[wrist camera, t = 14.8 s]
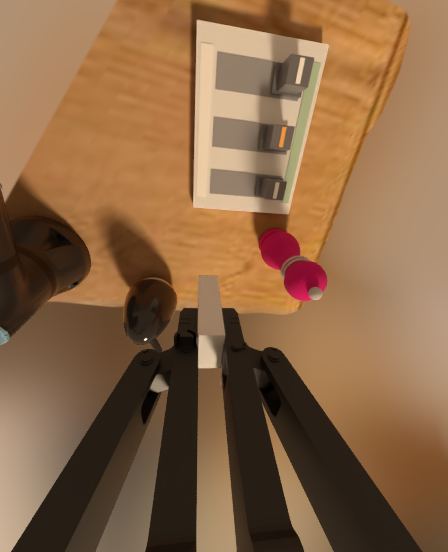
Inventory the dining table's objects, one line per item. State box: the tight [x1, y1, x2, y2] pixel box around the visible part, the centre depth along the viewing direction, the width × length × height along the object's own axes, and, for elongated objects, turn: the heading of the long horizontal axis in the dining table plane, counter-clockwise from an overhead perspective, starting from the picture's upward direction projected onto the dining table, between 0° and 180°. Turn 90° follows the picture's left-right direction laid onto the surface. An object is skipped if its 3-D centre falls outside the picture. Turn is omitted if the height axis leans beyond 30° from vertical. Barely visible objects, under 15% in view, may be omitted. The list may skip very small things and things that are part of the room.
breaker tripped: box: [258, 124, 295, 153], centre depth 31 cm, size 4×3×5 cm
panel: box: [193, 20, 329, 214], centre depth 34 cm, size 18×23×2 cm
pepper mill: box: [259, 229, 327, 301], centre depth 36 cm, size 7×7×20 cm
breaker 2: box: [270, 54, 314, 99], centre depth 28 cm, size 4×3×5 cm
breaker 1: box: [254, 176, 287, 201], centre depth 35 cm, size 4×3×5 cm
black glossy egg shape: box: [123, 277, 177, 353], centre depth 41 cm, size 10×10×15 cm
